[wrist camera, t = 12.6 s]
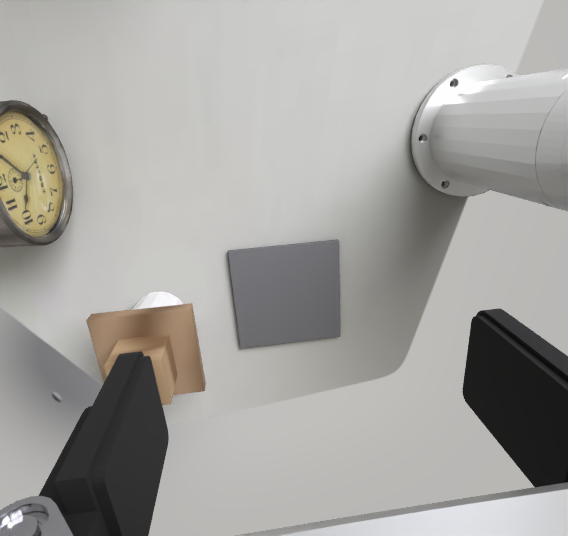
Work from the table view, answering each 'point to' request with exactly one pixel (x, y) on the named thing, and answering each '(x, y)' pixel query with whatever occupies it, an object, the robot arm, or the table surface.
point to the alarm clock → (31, 178)
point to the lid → (153, 345)
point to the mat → (286, 292)
